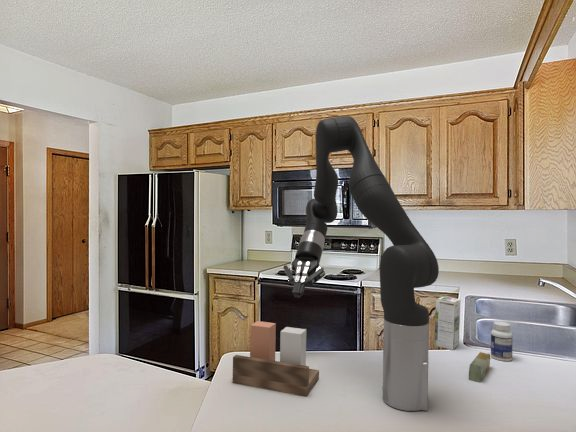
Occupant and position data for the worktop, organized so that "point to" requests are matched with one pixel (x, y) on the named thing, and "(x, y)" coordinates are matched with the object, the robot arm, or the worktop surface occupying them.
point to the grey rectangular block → (293, 346)
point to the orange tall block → (263, 340)
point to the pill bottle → (501, 342)
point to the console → (274, 375)
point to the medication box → (479, 367)
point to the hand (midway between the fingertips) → (296, 295)
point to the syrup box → (447, 322)
